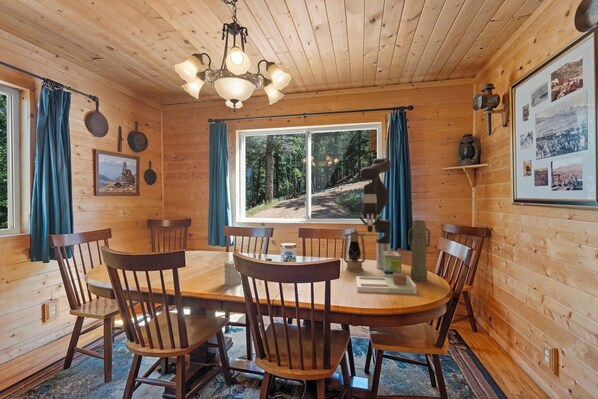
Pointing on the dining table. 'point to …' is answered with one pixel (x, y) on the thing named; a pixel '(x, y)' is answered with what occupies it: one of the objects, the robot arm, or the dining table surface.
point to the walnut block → (399, 278)
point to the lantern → (354, 252)
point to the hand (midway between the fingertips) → (369, 232)
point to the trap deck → (384, 285)
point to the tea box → (391, 263)
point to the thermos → (419, 250)
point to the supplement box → (231, 274)
